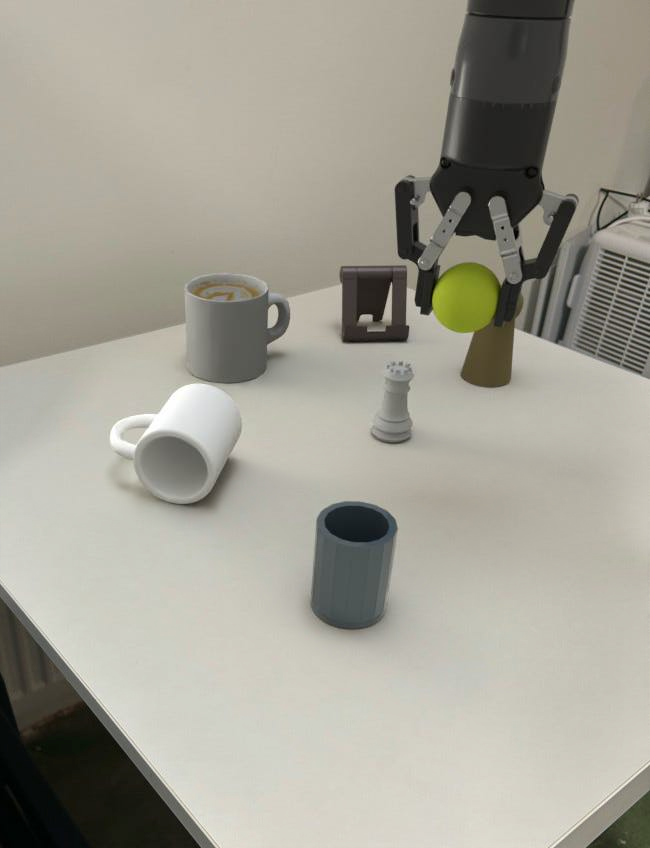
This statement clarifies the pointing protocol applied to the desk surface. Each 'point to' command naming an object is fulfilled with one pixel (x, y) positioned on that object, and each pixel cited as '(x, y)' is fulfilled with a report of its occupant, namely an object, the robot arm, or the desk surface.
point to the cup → (352, 564)
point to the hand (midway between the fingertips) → (462, 317)
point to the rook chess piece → (394, 405)
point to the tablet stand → (373, 301)
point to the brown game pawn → (491, 354)
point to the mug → (182, 443)
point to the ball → (466, 297)
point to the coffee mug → (230, 326)
